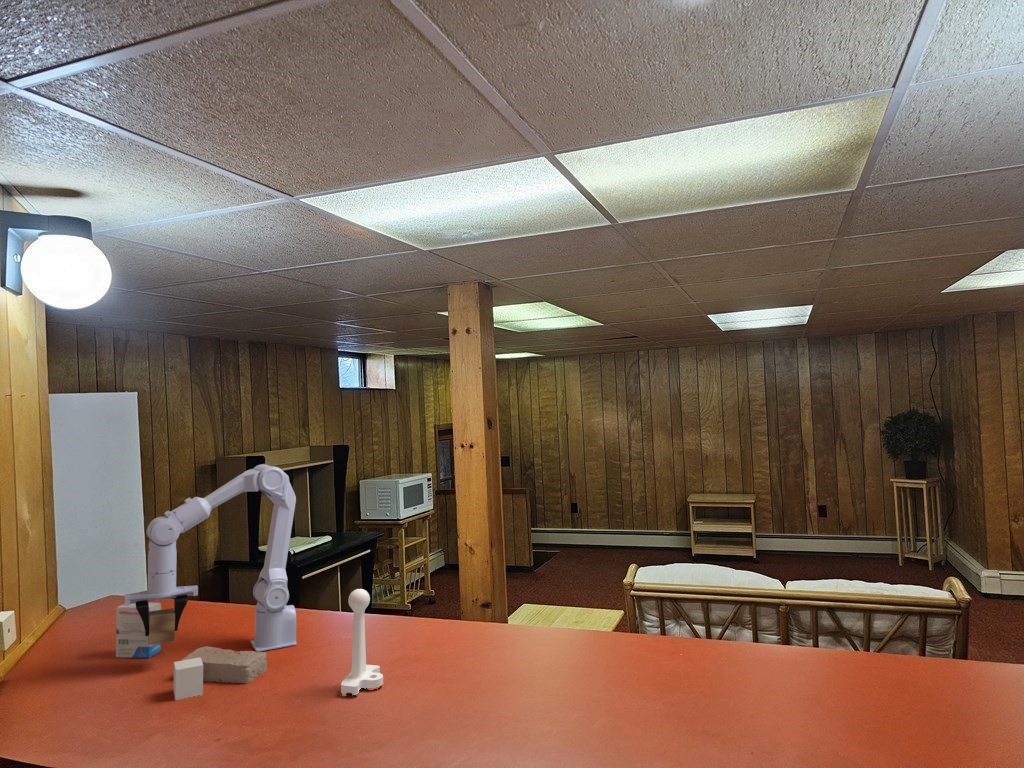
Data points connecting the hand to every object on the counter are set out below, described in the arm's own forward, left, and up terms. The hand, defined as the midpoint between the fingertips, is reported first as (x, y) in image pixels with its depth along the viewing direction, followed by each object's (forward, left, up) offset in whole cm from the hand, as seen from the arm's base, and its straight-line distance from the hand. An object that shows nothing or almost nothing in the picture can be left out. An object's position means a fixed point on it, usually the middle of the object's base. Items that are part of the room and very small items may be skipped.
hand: (161, 632), depth 148 cm
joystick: (-36, +34, -8) cm, 50 cm away
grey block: (-4, +18, -8) cm, 20 cm away
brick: (-12, +11, -8) cm, 18 cm away
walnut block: (0, 0, -2) cm, 2 cm away
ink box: (+4, -12, -8) cm, 15 cm away
